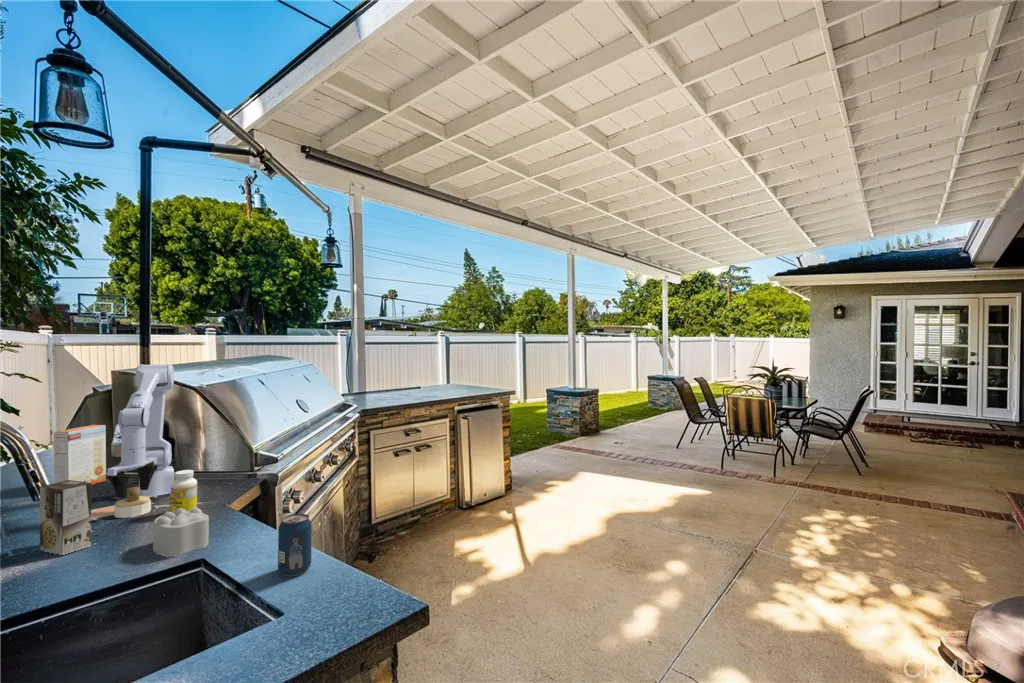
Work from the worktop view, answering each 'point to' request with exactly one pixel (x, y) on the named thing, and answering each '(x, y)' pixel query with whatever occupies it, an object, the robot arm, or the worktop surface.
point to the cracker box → (80, 454)
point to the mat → (102, 512)
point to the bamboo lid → (132, 498)
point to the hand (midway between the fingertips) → (133, 493)
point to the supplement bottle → (183, 491)
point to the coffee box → (65, 517)
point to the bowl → (132, 510)
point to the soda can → (294, 544)
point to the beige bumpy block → (180, 532)
